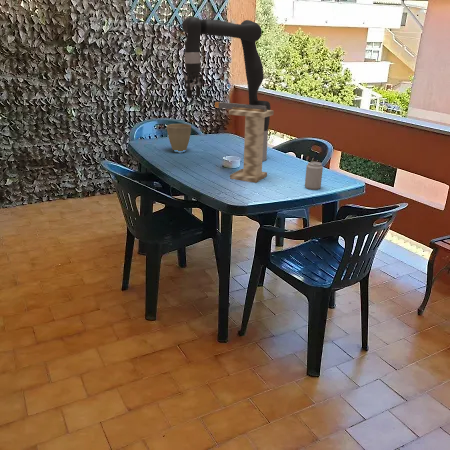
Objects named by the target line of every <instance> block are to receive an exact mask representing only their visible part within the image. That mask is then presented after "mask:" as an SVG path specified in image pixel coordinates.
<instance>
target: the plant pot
mask: <svg viewBox="0 0 450 450" xmlns="http://www.w3.org/2000/svg"><path fill="white" fill-rule="evenodd" d="M166 131H167V136H168V140H169V144H170V147H171V149H172V151H173V150H178V151H183V150H186V151H187V149H188V147H189V146H188V145H189V142H190V139H191V132H192V125H191V124H187V123H171V124H167V125H166Z"/></svg>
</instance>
